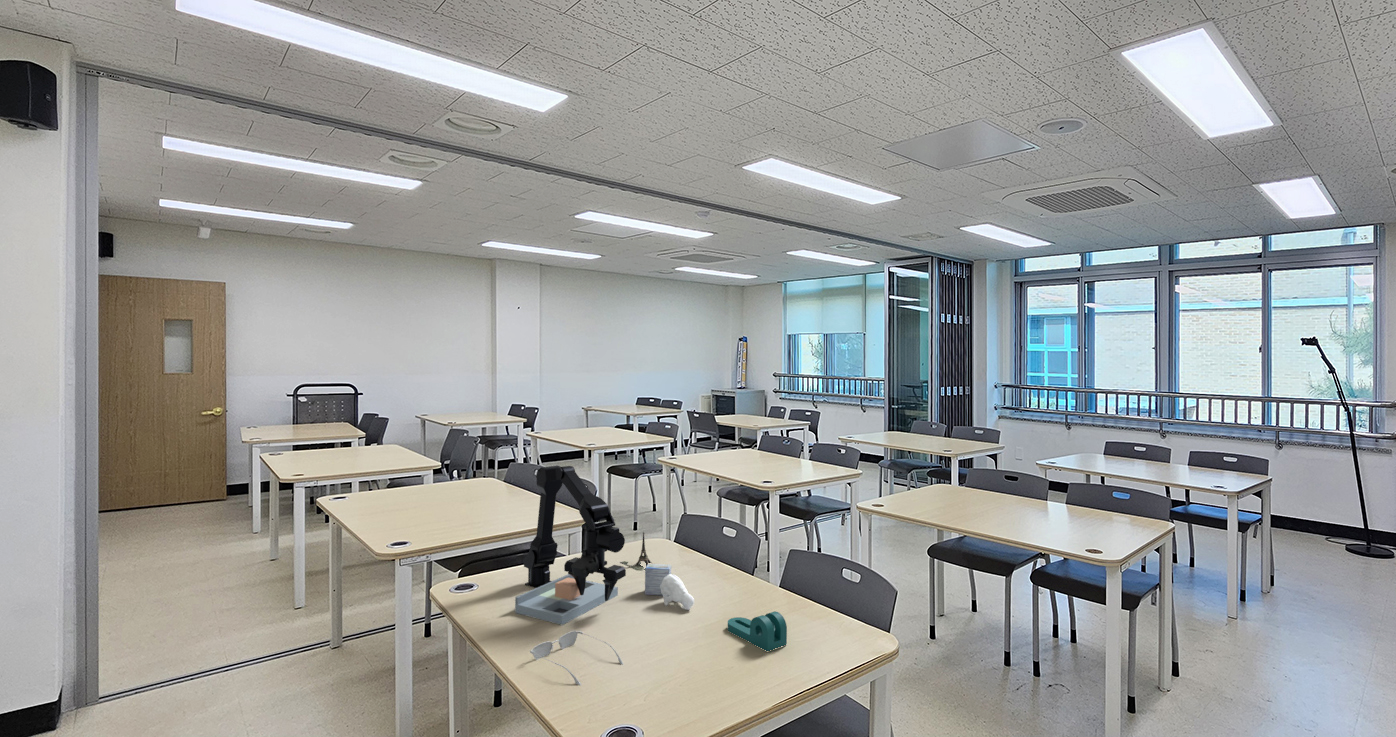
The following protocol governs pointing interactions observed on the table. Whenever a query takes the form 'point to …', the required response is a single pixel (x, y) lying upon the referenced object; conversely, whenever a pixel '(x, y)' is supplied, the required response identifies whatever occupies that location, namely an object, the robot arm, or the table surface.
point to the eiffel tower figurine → (640, 558)
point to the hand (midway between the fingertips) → (594, 597)
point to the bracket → (761, 630)
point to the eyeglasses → (564, 642)
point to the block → (567, 589)
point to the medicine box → (655, 578)
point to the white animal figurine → (676, 591)
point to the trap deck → (560, 602)
